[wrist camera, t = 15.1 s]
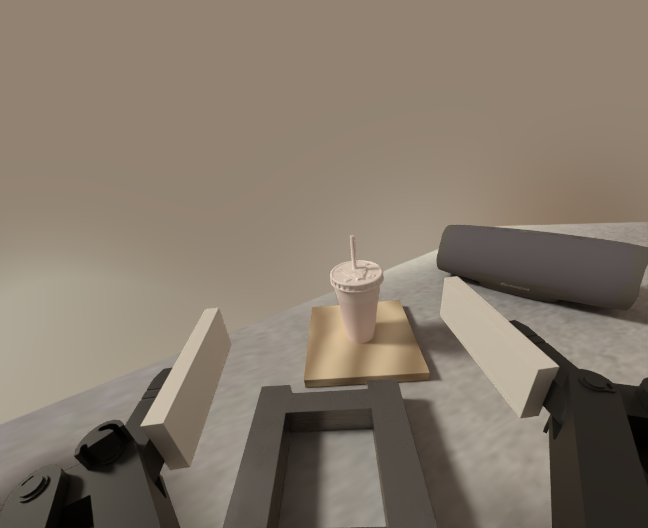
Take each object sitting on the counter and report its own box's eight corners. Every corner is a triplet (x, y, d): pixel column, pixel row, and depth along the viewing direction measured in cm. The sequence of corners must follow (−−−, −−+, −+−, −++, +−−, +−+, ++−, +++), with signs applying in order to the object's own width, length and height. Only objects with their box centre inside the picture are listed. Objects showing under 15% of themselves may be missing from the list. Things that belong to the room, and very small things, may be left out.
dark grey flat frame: (217, 617, 16) (202, 602, 15) (268, 405, 28) (262, 386, 27) (452, 620, 15) (458, 603, 13) (396, 398, 27) (397, 378, 26)
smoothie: (374, 314, 38) (371, 224, 32) (392, 345, 33) (392, 242, 26) (332, 323, 38) (321, 233, 31) (343, 356, 32) (331, 253, 26)
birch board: (305, 387, 30) (303, 380, 29) (313, 313, 42) (312, 307, 42) (429, 380, 29) (429, 372, 28) (399, 306, 41) (399, 300, 41)
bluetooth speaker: (616, 296, 38) (645, 231, 33) (621, 333, 32) (657, 259, 27) (451, 263, 52) (456, 215, 48) (433, 284, 46) (437, 231, 42)
